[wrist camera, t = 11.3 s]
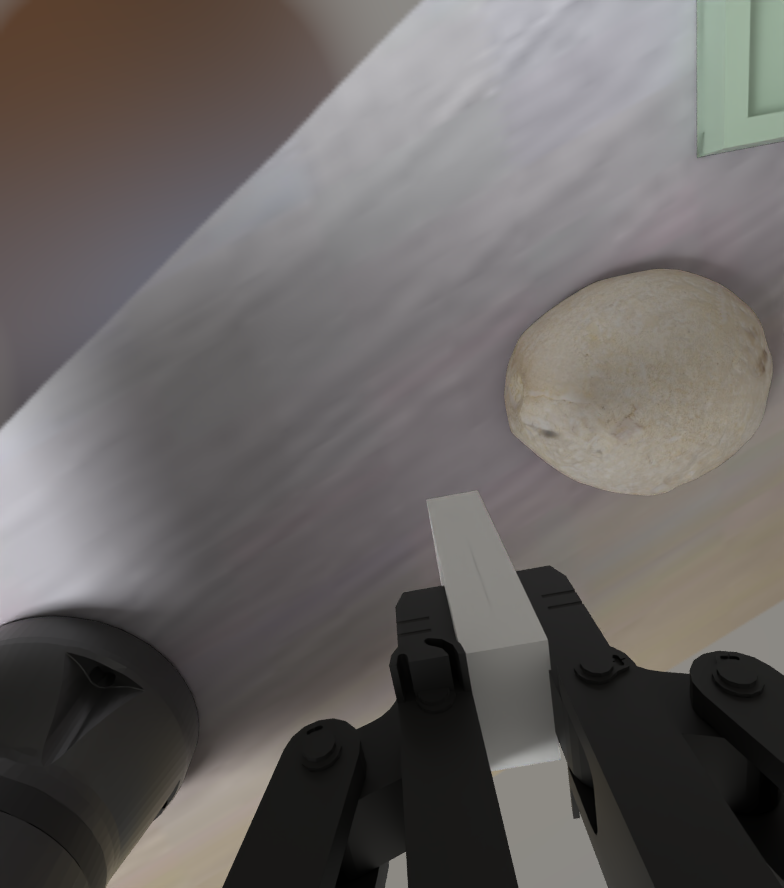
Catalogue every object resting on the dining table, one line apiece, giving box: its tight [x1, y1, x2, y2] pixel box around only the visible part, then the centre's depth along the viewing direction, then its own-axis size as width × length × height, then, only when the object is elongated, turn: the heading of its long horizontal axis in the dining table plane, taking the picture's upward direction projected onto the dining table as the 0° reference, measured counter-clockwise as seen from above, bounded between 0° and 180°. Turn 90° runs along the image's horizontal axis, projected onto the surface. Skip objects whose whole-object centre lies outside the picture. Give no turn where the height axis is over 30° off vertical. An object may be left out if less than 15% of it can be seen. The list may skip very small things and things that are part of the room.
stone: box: [504, 269, 773, 496], centre depth 26 cm, size 13×10×8 cm
